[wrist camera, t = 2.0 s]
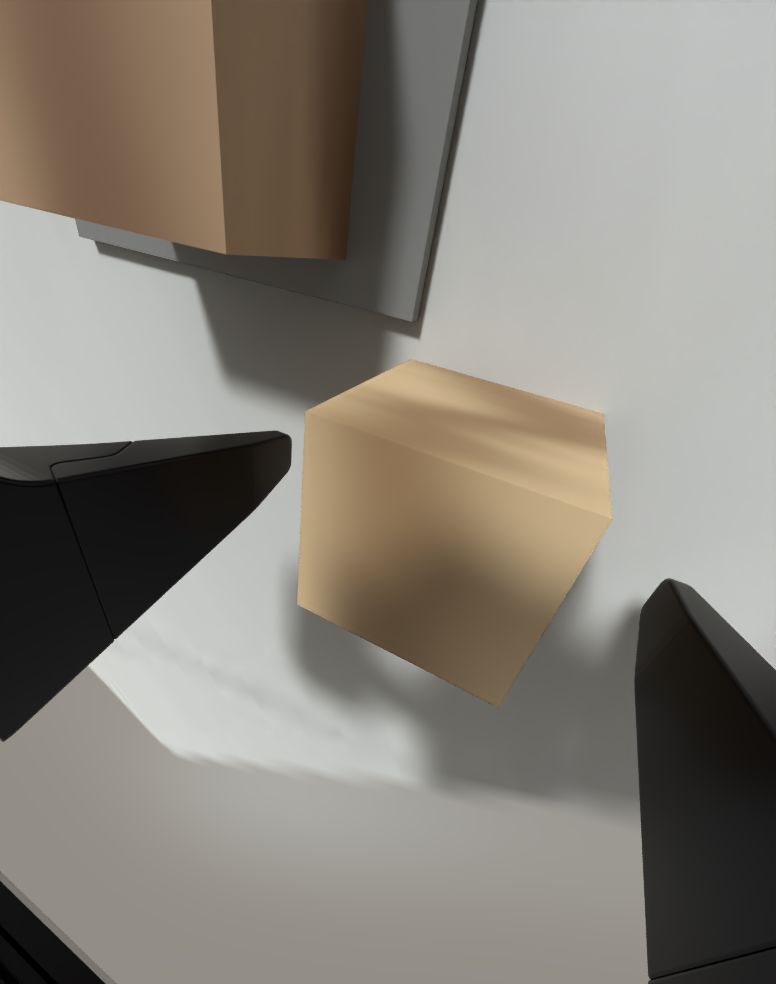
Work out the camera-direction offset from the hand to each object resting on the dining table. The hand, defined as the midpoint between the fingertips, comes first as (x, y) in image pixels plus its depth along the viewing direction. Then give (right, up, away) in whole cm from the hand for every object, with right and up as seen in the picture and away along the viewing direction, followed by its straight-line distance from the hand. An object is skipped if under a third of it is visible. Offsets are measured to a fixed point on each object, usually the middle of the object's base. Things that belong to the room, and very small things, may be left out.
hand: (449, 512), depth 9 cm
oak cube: (+1, +1, +2) cm, 3 cm away
